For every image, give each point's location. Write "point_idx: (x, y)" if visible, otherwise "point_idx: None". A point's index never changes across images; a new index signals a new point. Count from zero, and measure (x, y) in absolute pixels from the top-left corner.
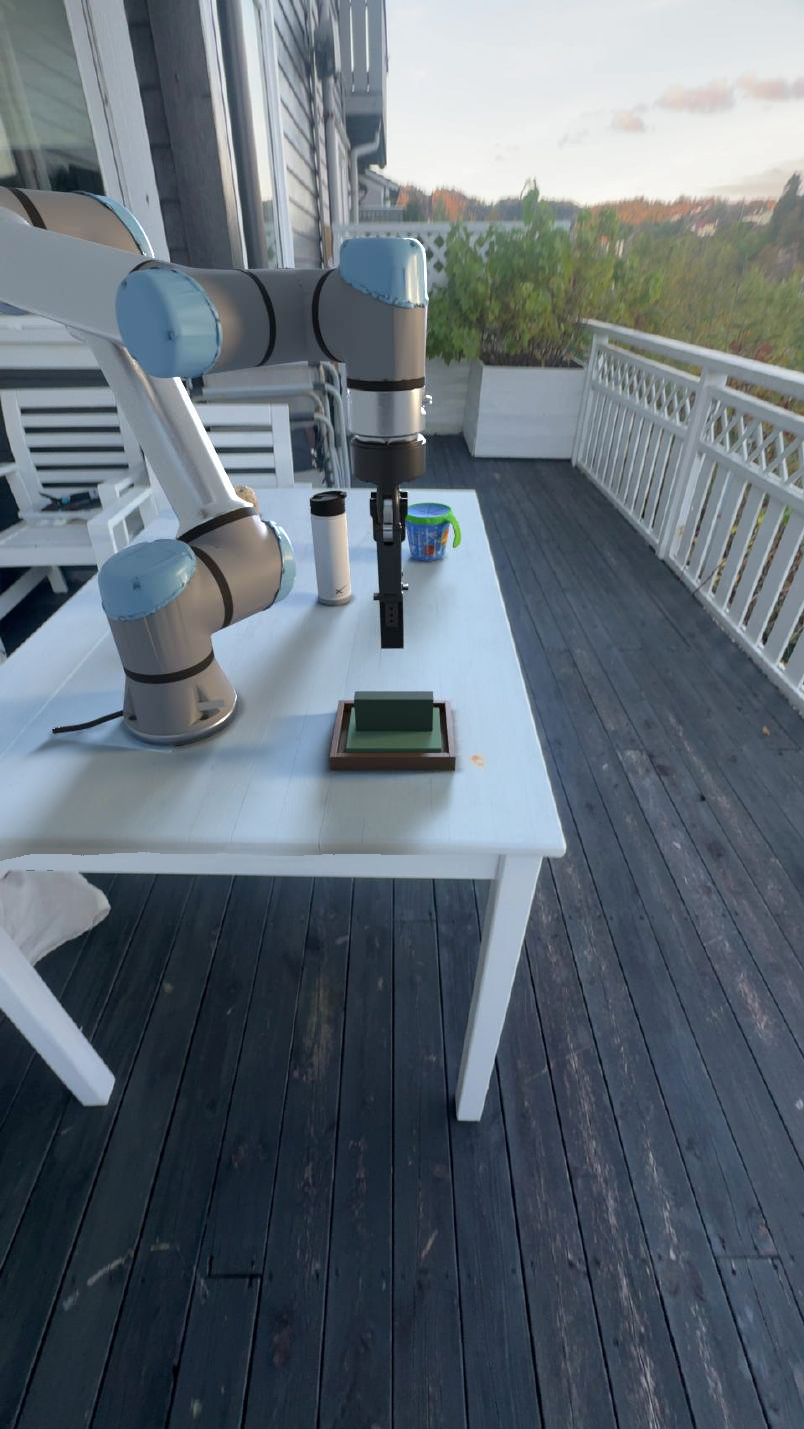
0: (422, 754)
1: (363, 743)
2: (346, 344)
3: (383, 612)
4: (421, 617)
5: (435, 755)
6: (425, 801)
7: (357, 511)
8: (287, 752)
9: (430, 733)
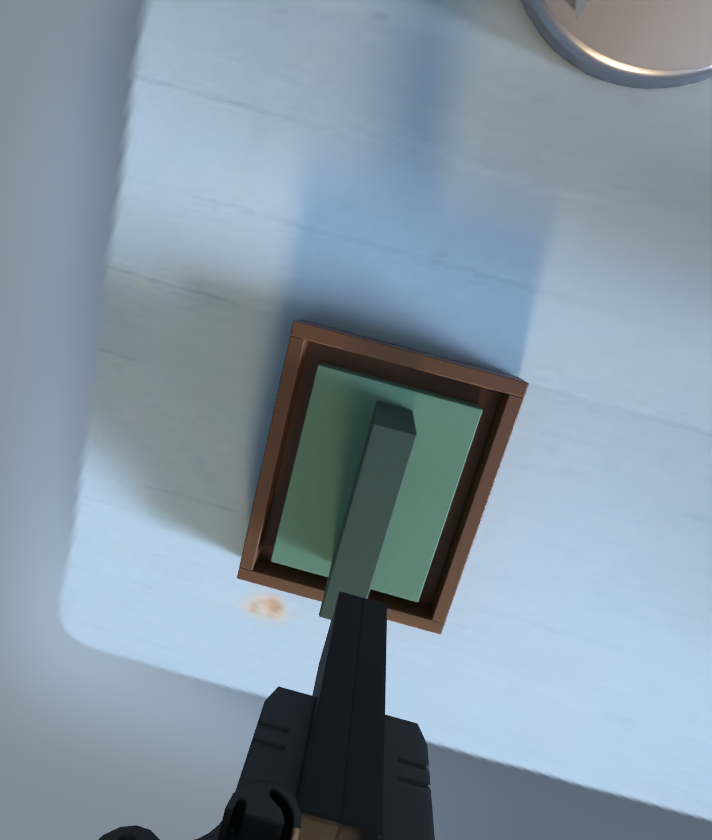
0: (258, 520)
1: (325, 407)
2: None
3: (309, 740)
4: None
5: (249, 543)
6: (172, 483)
7: None
8: (391, 224)
9: (325, 556)
